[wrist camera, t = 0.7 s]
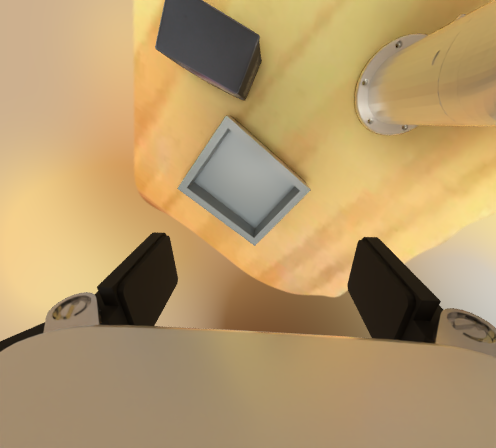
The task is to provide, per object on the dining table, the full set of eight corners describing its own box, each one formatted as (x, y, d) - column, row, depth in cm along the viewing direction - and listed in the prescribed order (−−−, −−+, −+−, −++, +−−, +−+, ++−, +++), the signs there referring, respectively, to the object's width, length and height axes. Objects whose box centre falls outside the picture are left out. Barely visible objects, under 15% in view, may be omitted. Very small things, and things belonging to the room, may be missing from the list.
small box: (184, 70, 33) (151, 49, 24) (198, 20, 30) (167, -26, 21) (244, 103, 34) (236, 96, 25) (263, 58, 32) (261, 31, 22)
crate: (231, 116, 35) (226, 115, 31) (305, 182, 39) (310, 189, 35) (187, 181, 41) (177, 188, 36) (256, 233, 45) (254, 245, 40)
